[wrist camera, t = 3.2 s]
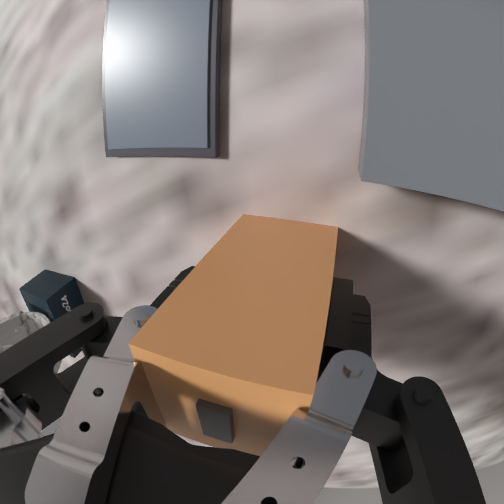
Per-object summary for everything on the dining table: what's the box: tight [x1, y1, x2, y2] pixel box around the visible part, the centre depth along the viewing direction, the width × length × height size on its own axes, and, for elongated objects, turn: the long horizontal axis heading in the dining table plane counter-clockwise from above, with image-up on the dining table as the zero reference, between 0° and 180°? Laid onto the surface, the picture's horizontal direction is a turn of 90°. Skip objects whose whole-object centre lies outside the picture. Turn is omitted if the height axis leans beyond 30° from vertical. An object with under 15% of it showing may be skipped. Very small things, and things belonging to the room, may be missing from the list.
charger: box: [128, 214, 338, 456], centre depth 10 cm, size 4×4×8 cm
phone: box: [102, 0, 222, 158], centre depth 9 cm, size 6×13×1 cm, turn 178°
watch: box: [0, 270, 84, 374], centre depth 16 cm, size 6×8×11 cm
